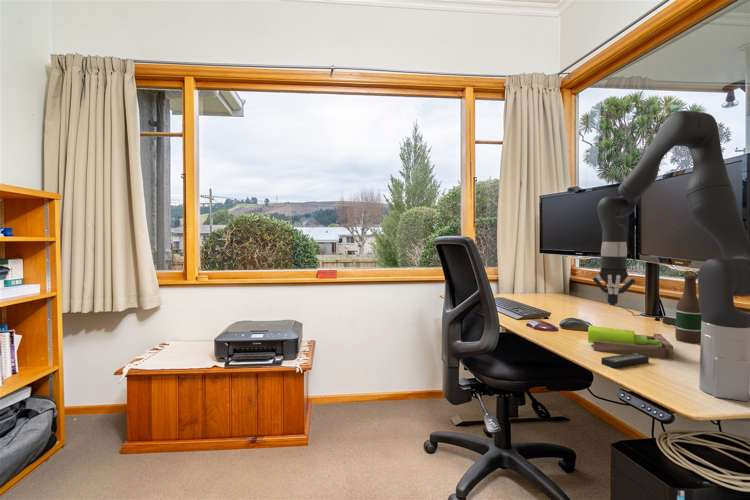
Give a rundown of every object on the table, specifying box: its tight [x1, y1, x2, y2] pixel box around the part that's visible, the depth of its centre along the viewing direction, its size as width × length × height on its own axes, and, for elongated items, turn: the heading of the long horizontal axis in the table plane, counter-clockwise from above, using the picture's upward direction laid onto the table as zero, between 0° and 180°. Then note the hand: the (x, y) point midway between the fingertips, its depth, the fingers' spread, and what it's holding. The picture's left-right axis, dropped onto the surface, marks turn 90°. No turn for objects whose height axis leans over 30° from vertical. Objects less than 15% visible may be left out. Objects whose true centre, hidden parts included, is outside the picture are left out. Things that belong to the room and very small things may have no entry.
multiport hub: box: [601, 353, 650, 370], centre depth 115 cm, size 4×14×2 cm, turn 109°
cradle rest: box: [592, 333, 674, 360], centre depth 130 cm, size 16×22×4 cm
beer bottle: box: [674, 274, 702, 345], centre depth 138 cm, size 8×8×24 cm
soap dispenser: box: [587, 325, 660, 347], centre depth 128 cm, size 6×7×20 cm
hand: (612, 304), depth 132 cm, fingers closed
